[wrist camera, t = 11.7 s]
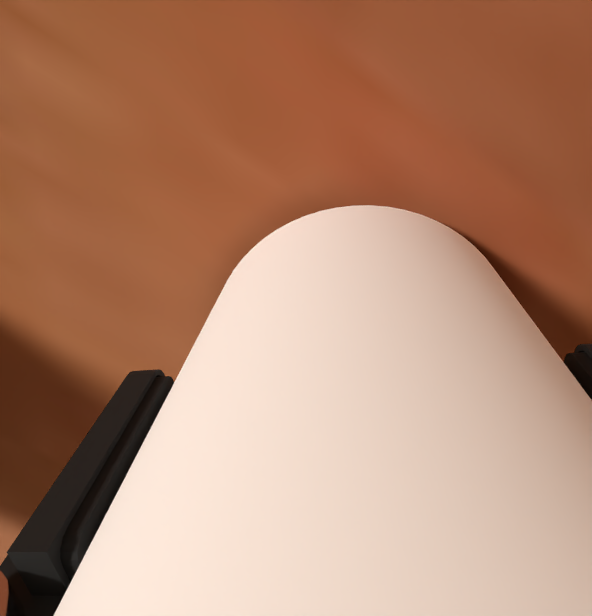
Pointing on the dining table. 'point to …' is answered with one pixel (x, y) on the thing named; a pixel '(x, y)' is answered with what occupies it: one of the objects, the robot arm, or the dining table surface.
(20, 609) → the robot arm
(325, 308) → the can
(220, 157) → the dining table surface
